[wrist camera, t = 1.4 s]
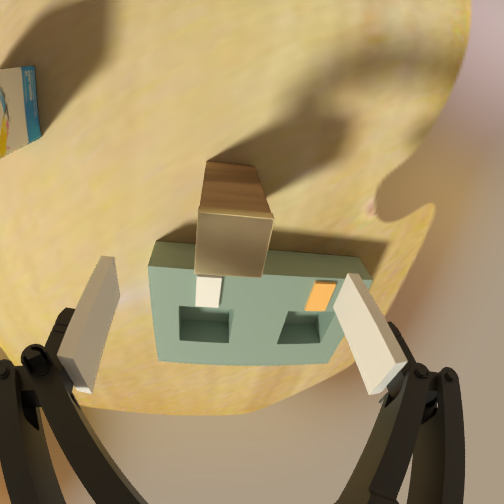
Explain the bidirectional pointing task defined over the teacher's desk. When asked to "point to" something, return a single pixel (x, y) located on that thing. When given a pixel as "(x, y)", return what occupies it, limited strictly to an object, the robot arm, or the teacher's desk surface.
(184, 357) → the socket board
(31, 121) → the ink box
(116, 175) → the teacher's desk surface
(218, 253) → the plug
